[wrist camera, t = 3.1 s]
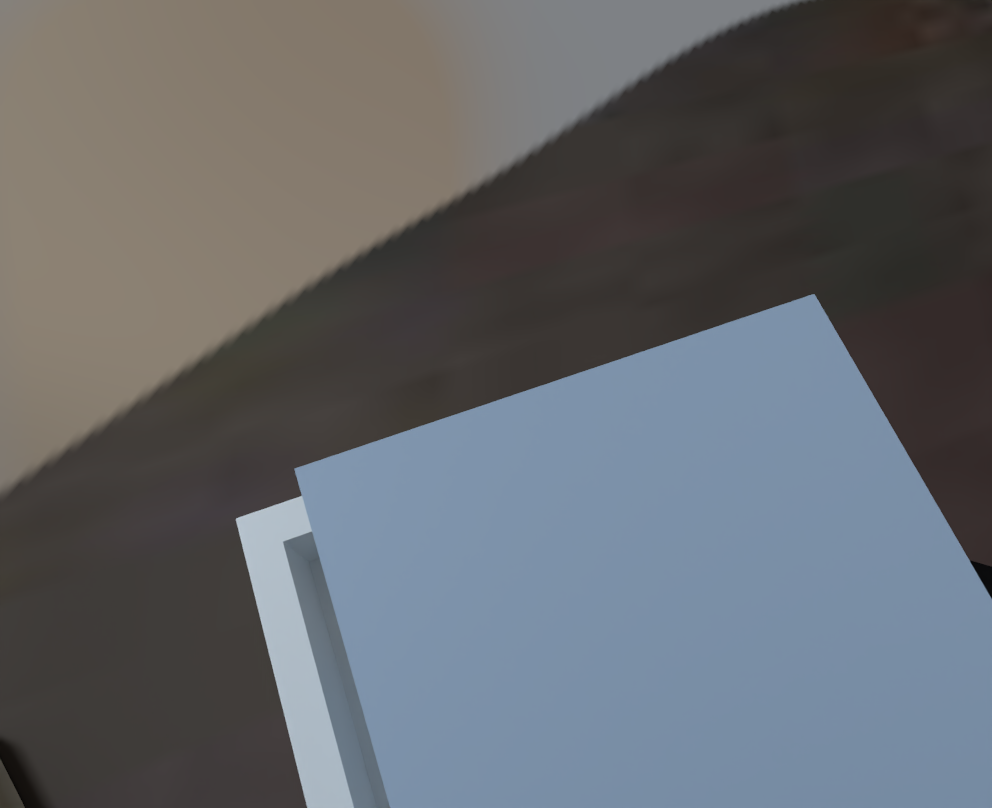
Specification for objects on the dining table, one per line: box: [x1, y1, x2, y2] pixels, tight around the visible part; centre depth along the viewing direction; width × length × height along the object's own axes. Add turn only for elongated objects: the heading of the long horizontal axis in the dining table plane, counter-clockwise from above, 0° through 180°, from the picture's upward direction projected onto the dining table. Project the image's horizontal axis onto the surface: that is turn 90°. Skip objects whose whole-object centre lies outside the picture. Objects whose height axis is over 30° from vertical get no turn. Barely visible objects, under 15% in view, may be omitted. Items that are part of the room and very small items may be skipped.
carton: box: [295, 294, 992, 808], centre depth 12 cm, size 5×5×12 cm
